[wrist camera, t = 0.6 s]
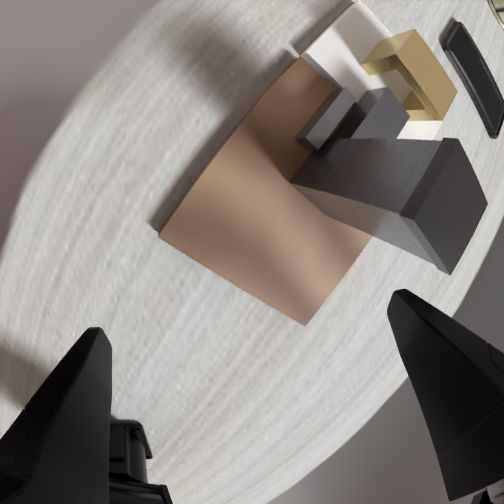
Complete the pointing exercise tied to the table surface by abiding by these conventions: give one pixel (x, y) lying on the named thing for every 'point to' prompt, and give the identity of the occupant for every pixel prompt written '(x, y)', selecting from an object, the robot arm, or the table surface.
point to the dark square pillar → (395, 183)
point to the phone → (475, 77)
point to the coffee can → (498, 10)
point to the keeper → (414, 74)
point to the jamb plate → (353, 54)
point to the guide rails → (325, 119)
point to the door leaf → (267, 206)
